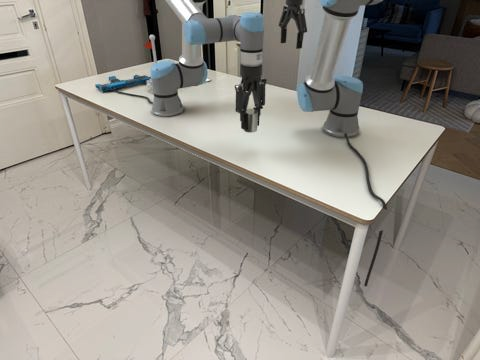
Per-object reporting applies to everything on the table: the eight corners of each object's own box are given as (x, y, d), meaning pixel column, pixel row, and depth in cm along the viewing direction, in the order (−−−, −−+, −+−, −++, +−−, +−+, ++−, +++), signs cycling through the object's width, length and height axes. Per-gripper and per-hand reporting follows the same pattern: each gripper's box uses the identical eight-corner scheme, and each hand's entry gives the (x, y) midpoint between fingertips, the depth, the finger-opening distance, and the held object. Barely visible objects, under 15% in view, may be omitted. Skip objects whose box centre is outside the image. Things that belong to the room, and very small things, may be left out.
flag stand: (168, 85, 203) (161, 31, 187) (172, 92, 193) (166, 36, 177) (146, 88, 199) (137, 33, 183) (149, 95, 189) (140, 37, 173)
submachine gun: (140, 69, 223) (158, 75, 206) (141, 75, 225) (159, 81, 208) (87, 79, 204) (103, 87, 188) (89, 85, 206) (105, 94, 190)
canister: (255, 133, 125) (256, 114, 121) (241, 131, 126) (241, 113, 122) (258, 127, 130) (259, 109, 126) (244, 125, 131) (245, 108, 127)
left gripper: (238, 71, 107) (239, 137, 120) (277, 61, 118) (274, 123, 130) (223, 66, 112) (225, 130, 125) (262, 57, 122) (260, 117, 135)
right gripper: (272, -7, 158) (270, 41, 169) (304, -3, 139) (299, 51, 151) (286, -8, 161) (283, 40, 172) (318, -3, 142) (313, 50, 153)
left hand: (250, 126), depth 128 cm, fingers closed on canister, 5 cm apart
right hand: (290, 45), depth 161 cm, fingers open, 13 cm apart
